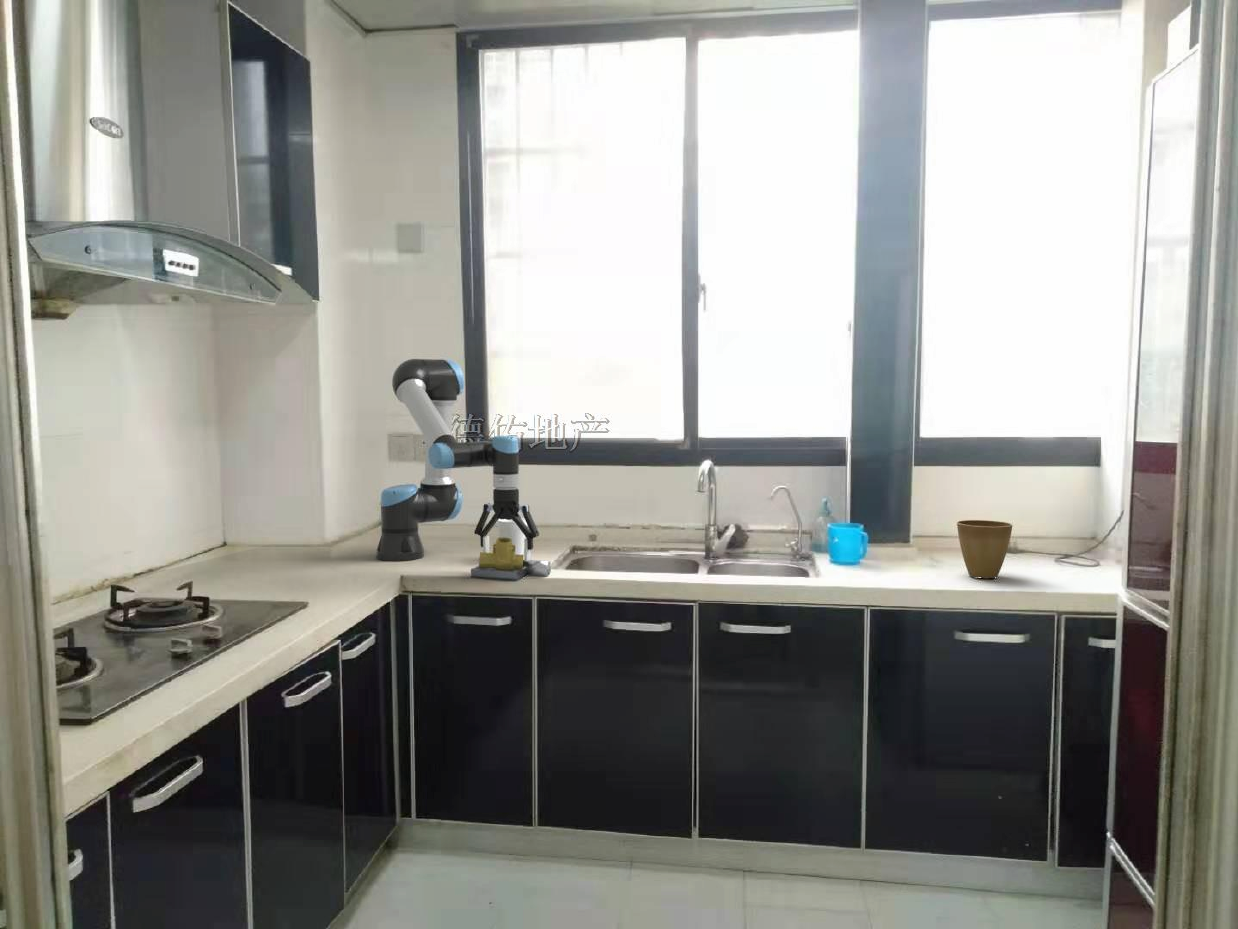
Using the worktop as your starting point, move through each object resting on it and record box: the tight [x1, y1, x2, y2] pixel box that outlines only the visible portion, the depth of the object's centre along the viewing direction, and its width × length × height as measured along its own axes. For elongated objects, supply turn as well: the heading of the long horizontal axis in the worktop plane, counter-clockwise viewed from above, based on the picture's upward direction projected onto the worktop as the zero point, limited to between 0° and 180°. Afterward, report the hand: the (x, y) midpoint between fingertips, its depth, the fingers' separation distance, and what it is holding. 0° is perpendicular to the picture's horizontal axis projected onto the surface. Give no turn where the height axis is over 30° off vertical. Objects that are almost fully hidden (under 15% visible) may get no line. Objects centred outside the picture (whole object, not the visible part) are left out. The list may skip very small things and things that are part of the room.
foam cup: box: [496, 517, 528, 556], centre depth 270 cm, size 10×9×13 cm
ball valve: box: [478, 537, 524, 571], centre depth 247 cm, size 13×10×10 cm
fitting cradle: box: [470, 559, 552, 582], centre depth 248 cm, size 21×18×4 cm
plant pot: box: [956, 519, 1013, 578], centre depth 244 cm, size 15×15×16 cm
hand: (506, 559), depth 249 cm, fingers open, 13 cm apart
